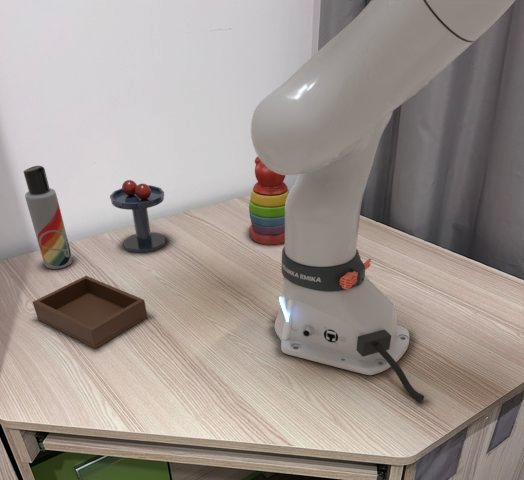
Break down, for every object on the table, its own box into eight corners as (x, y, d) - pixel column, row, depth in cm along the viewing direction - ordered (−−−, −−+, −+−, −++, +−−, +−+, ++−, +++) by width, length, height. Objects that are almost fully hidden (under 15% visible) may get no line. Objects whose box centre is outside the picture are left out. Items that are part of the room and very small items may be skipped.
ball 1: (141, 194, 115) (139, 179, 113) (130, 199, 113) (128, 184, 111) (131, 191, 116) (129, 176, 114) (120, 196, 114) (117, 181, 112)
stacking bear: (298, 228, 125) (300, 150, 114) (289, 247, 117) (290, 164, 106) (253, 225, 127) (251, 147, 116) (242, 243, 119) (238, 161, 109)
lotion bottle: (64, 270, 110) (38, 172, 98) (39, 268, 111) (10, 171, 99) (77, 258, 114) (54, 163, 103) (53, 256, 115) (27, 161, 104)
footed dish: (180, 240, 121) (174, 191, 114) (144, 259, 114) (135, 207, 107) (145, 229, 126) (138, 181, 119) (109, 246, 119) (99, 196, 112)
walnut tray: (147, 317, 95) (144, 299, 93) (95, 348, 88) (91, 330, 85) (90, 292, 103) (86, 275, 101) (37, 319, 95) (32, 301, 93)
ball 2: (155, 198, 113) (153, 183, 111) (143, 203, 111) (141, 187, 109) (144, 195, 114) (142, 180, 113) (133, 199, 112) (130, 184, 110)
